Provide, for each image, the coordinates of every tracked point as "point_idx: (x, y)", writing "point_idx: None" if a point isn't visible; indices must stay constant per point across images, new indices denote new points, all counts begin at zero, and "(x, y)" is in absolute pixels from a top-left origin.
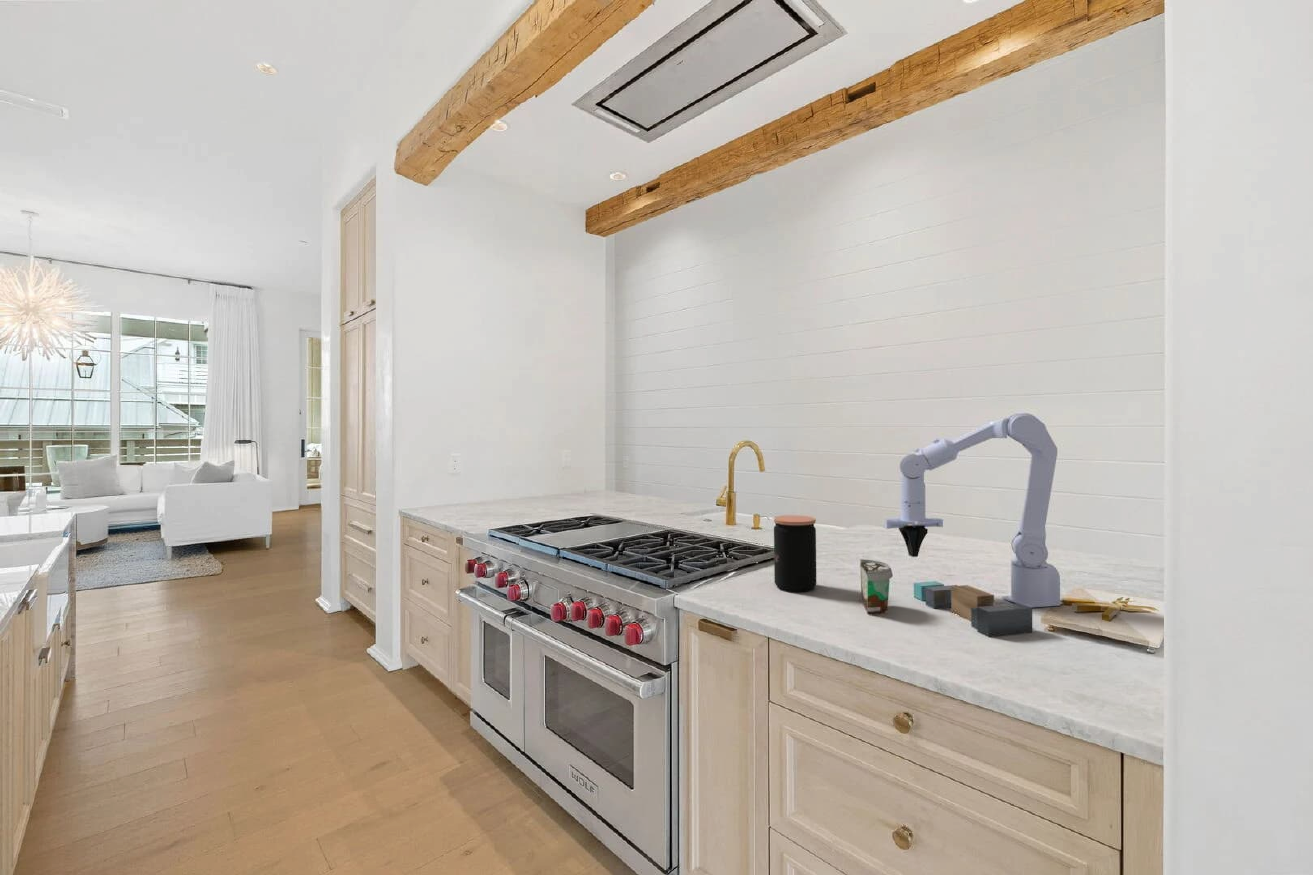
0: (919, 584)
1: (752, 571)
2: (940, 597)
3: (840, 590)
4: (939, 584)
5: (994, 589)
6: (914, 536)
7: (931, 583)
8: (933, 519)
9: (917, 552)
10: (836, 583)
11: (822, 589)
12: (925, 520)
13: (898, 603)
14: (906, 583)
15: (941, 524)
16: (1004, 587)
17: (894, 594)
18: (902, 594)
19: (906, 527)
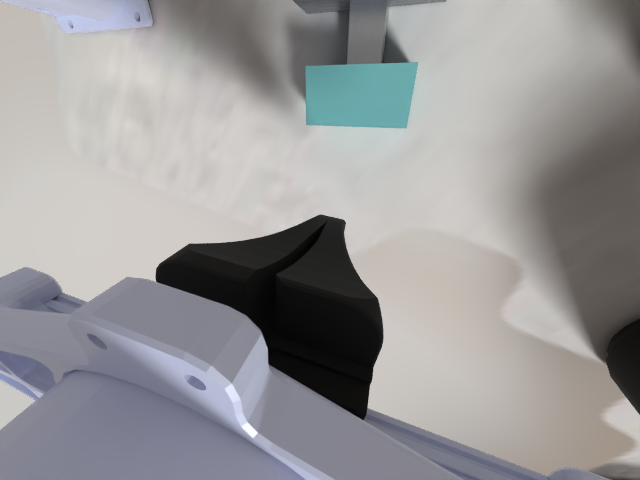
0: (403, 94)
1: (617, 461)
2: None
3: (575, 270)
4: (322, 70)
5: (148, 130)
6: (318, 267)
7: (344, 95)
8: (4, 363)
9: (317, 220)
10: (508, 320)
11: (625, 299)
12: (61, 374)
13: (537, 56)
14: None
15: (4, 282)
16: (124, 139)
17: (440, 174)
18: (414, 165)
19: (344, 391)
